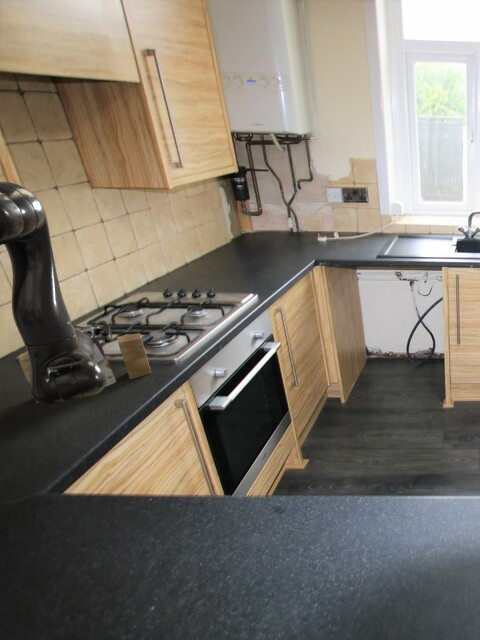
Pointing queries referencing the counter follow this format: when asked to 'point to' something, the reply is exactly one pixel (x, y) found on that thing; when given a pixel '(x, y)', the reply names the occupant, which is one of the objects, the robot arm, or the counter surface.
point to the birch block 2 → (134, 355)
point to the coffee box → (101, 360)
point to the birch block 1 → (25, 366)
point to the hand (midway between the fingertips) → (71, 329)
